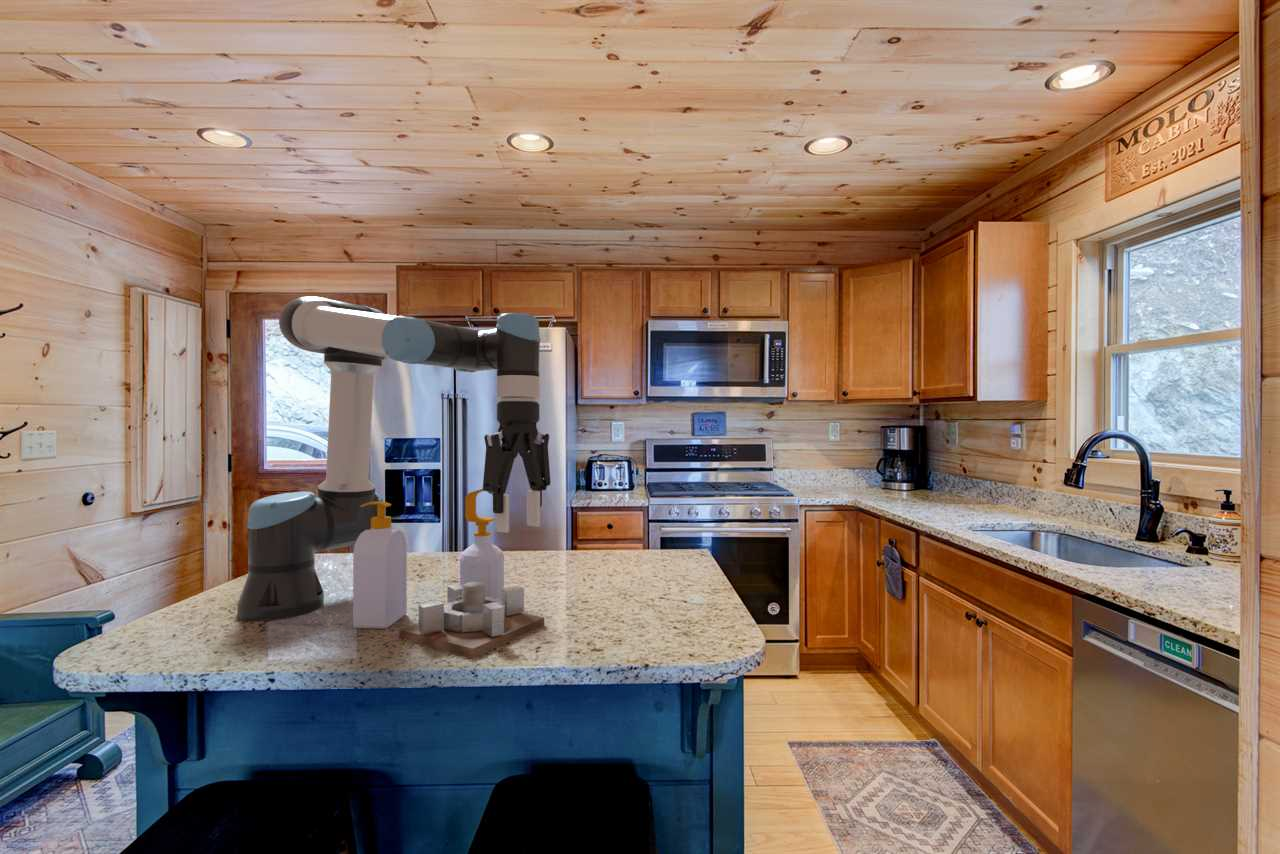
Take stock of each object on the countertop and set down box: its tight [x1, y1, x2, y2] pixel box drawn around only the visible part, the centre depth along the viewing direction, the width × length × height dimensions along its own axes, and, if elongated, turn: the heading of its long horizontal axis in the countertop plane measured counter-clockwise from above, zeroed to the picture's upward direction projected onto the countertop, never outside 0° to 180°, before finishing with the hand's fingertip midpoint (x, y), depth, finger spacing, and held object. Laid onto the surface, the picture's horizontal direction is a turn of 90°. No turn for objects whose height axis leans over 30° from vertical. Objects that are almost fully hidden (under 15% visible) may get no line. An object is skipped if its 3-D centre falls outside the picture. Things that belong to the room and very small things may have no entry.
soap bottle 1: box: [352, 501, 408, 629], centre depth 112 cm, size 9×7×23 cm
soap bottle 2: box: [459, 488, 505, 599], centre depth 125 cm, size 9×9×25 cm
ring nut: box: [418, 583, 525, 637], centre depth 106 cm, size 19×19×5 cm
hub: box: [398, 582, 545, 659], centre depth 106 cm, size 18×18×8 cm
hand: (518, 528), depth 105 cm, fingers open, 7 cm apart
